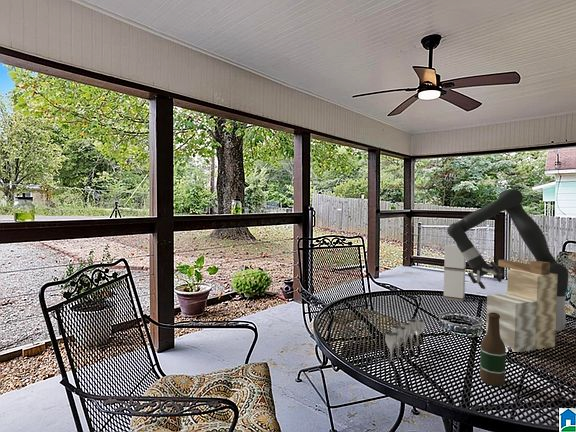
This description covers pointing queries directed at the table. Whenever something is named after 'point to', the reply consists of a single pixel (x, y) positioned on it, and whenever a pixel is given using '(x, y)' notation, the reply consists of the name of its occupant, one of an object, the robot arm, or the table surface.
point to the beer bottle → (493, 354)
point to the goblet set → (404, 333)
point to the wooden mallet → (527, 266)
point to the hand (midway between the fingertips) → (492, 285)
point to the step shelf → (526, 310)
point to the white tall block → (454, 273)
